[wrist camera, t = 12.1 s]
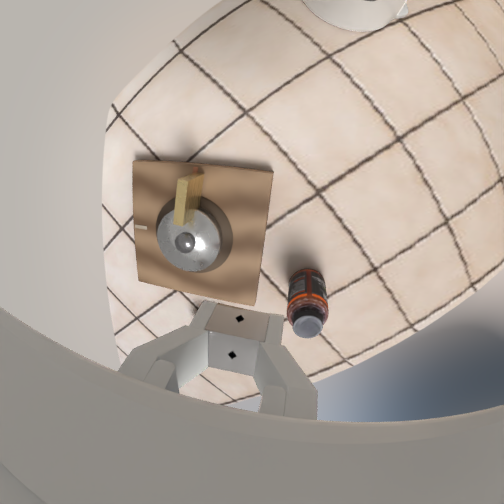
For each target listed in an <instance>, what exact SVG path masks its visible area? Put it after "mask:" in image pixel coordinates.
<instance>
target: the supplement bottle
mask: <svg viewBox="0 0 504 504" xmlns="http://www.w3.org/2000/svg"><path fill="white" fill-rule="evenodd" d="M287 318H288V321H289V323H290V324H291V325H292V326H293V331H294V332H295V334H296V335H298V336H299V337H302V338H313V337H315V336H317V335H318V334H319V333H320V332H321V331H322V328H323V325H324V323H325V322H326V320H327V318H328V302H327V294H326V287H325V281H324V279H323V277H322V275H321V274H320V273H318V272H317V271H315V270H311V269H303V270H300V271H298V272H296V273H295V274H294V275H293V276H292V278H291V280H290V283H289V292H288V304H287Z"/></svg>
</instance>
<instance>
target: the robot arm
mask: <svg viewBox="0 0 504 504" xmlns="http://www.w3.org/2000/svg"><path fill="white" fill-rule="evenodd" d="M302 1H303V2H304V3H305V4H306V6H307V7H308V8H309V9H310V10H311V11H312V12H313V13H314V14H315V15H316V16H318V17H319V18H320V19H322V20H324V21H325V22H327V23H329V24H331V25H334V26H336V27H339V28H342V29H346V30H350V31H358V32H367V31H374V30H377V29H380V28H382V27H384V26H385V25H387V24H388V23H389V22H390V21H392V20H393V19H397V18H403V17H405V16H407V14H408V7H407V4H406V2H407V0H302ZM269 316H270V317H269ZM283 324H284V315H279V314H272V313H270V314H269V313H263V312H258V311H252V310H247V309H243V308H238V307H234V306H229V305H225V304H220V303H215V302H211V301H206V300H205V301H203V302H202V304H201V306H200V307H199V309H198V311H197V313H196V315H195V316H194V318H193V320H192V322H191V324H190V325H189V326H186V325H185V326H183V327H181V328H179V329H176V330H174V331H172V332H170V333H168V334H165V335H163V336H161V337H159V338H157V339H154V340H152V341H150V342H148V343H145V344H143V345H141V346H138V347H136V348H134V349H133V350H132V351H131V353H130V354H129V355H128V357H127V358H126V360H125V361H124V363H123V364H122V365H121V367H120V368H119V370H118V371H114V370H112V369H110V368H108V367H105V366H103V365H101V364H99V363H97V362H94V361H92V360H90V359H88V358H86V357H84V356H82V355H80V354H78V353H76V352H74V351H72V350H70V349H68V348H66V347H64V346H62V345H60V344H59V343H57V342H55V341H53V340H51V339H50V338H48V337H46V336H44V335H43V334H41V333H39V332H38V331H36V330H34V329H33V328H31V327H30V326H28V325H26V324H25V323H23V322H22V321H20V320H19V319H17V318H16V317H14V316H13V315H11V314H10V313H8V312H7V311H6V310H4V309H3V308H1V307H0V504H504V405H501V406H497V407H493V408H489V409H485V410H481V411H477V412H471V413H466V414H461V415H455V416H448V417H441V418H433V419H424V420H414V421H398V422H339V421H322V420H317V397H318V394H317V393H318V392H317V390H316V388H315V387H314V386H313V384H312V383H311V381H310V380H309V379H308V377H307V376H306V375H305V373H304V372H303V370H302V369H301V368H300V366H299V365H298V364H297V362H296V361H295V359H294V358H293V357H292V355H291V354H290V352H289V351H288V350H287V348H286V347H285V346H282V345H281V340H282V332H283ZM266 332H267V333H266ZM208 367H212V368H217V369H222V370H227V371H232V372H236V373H240V374H244V375H249V376H254V377H253V378H254V380H255V382H256V385H257V387H258V389H259V391H260V394H261V396H262V398H261V402H260V406H259V410H258V412H253V411H247V410H242V409H237V408H233V407H228V406H224V405H219V404H215V403H211V402H207V401H203V400H200V399H196V398H192V397H189V396H185V395H182V394H179V388H181V387H182V386H184V385H185V384H186V383H188V382H189V381H191V380H192V379H193V378H195V377H196V376H198V375H199V374H200V373H202V372H203V371H204V370H206V369H207V368H208Z"/></svg>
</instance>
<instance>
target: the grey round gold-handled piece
mask: <svg viewBox="0 0 504 504" xmlns="http://www.w3.org/2000/svg"><path fill="white" fill-rule="evenodd" d="M203 180H204V174H202V173H197V172H195V173H192V174H190V175H187V176H185V177H182V178H180V179H178V182H177V191H176V200H175V209H174V210H172V211H171V212H169V213H168V214H167V215H166V216H164V218H163V219H162V220H161V222H160V224H159V227H158V231H157V240H158V244H159V247H160V250H161V252H162V253H163V255H164V256H165V258H166V259H167V260H168V261H169V262H170V263H171V264H173V265H174V266H176V267H178V268H180V269H182V270H186V271H200V270H203V269H205V268H207V267H208V266H210V265H211V264H212V263H213V262H214V260H215V259H216V257H217V256H218V254H219V252H220V250H221V247H222V241H223V239H222V232H221V228H220V226H219V224H218V222H217V221H216V219H215V218H214V217H213V216H212V215H211V214H210V213H209V212H207V211H206V210H204V209H202V208H200V200H201V193H202V187H203Z"/></svg>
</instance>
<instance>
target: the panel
mask: <svg viewBox="0 0 504 504" xmlns="http://www.w3.org/2000/svg"><path fill="white" fill-rule="evenodd" d="M195 172H197V173H202V174H204V180H203V187H202V193H201V200H200V208H202V209H204V210H206V211H207V212H209V213H210V214H211V215H212V216H213V217H214V218H215V219H216V221H217V222H218V224H219V226H220V228H221V232H222V239H223V241H222V247H221V250H220V252H219V254H218V256H217V257H216V259H215V260H214V262H213V263H212V264H211V265H210V266H208V267H207V268H205V269H203V270H200V271H186V270H182V269H180V268H178V267H176V266H174V265H173V264H171V263H170V262H169V261H168V260H167V259H166V258H165V256H164V255H163V253H162V252H161V250H160V247H159V244H158V240H157V231H158V227H159V224H160V222H161V220H162V219H163V218H164V216H166V215H167V214H168V213H169V212H171V211H172V210H174V209H175V200H176V191H177V182H178V179H180V178H182V177H185V176H187V175H190V174H192V173H195ZM273 173H274V172H271V171H264V170H256V169H248V168H240V167H232V166H222V165H212V164H202V163H189V162H175V161H157V160H136V161H133V218H134V235H135V249H136V260H137V270H138V279H139V281H141V282H145V283H149V284H153V285H157V286H161V287H165V288H170V289H174V290H178V291H182V292H187V293H191V294H196V295H200V296H205V297H210V298H214V299H219V300H224V301H229V302H234V303H239V304H244V305H249V306H254V305H255V302H256V296H257V290H258V283H259V276H260V268H261V261H262V254H263V247H264V240H265V232H266V225H267V218H268V210H269V203H270V195H271V188H272V180H273Z"/></svg>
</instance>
